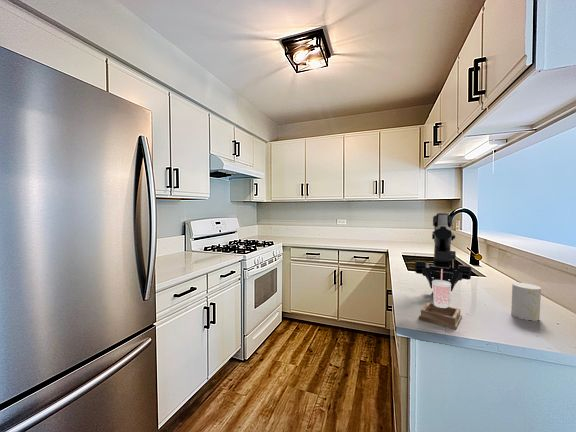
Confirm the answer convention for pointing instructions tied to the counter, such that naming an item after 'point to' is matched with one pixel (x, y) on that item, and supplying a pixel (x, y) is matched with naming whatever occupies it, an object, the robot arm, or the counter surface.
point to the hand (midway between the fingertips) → (441, 289)
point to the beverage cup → (441, 292)
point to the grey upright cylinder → (526, 301)
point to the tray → (441, 315)
